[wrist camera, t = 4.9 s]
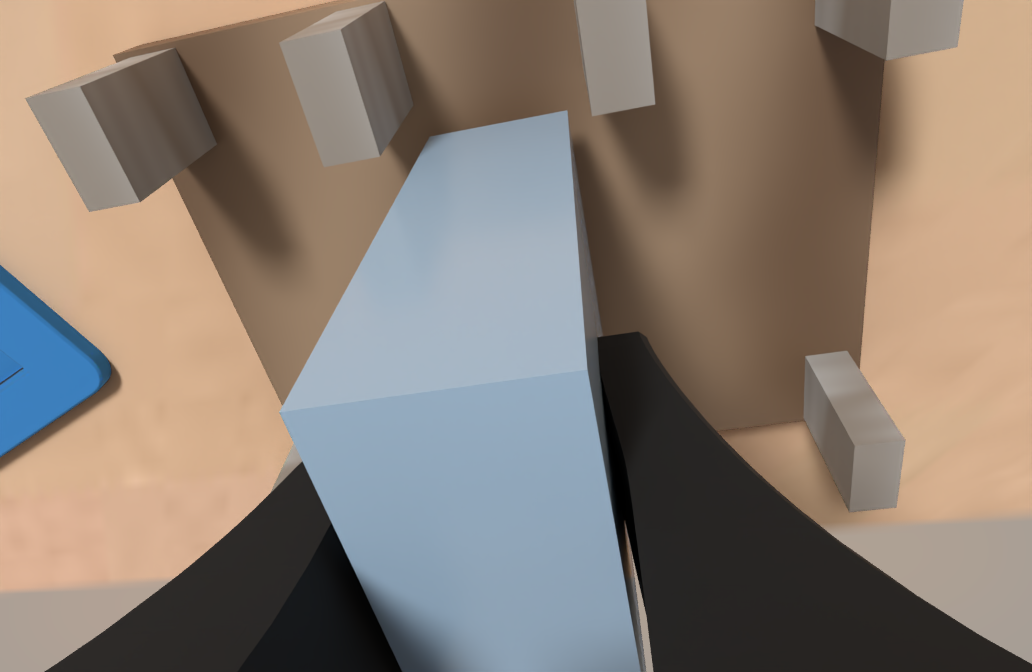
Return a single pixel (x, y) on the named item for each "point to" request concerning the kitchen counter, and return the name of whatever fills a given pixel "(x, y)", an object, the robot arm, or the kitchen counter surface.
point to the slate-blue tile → (476, 418)
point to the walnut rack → (599, 161)
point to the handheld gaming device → (40, 364)
